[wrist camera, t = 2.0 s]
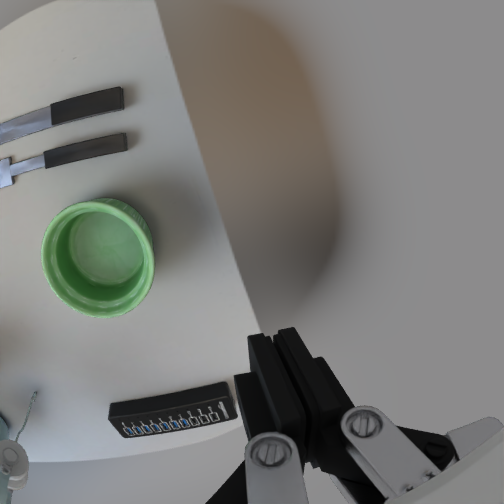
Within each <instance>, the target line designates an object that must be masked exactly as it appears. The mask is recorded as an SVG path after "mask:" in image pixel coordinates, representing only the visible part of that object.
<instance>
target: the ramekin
mask: <svg viewBox="0 0 504 504" xmlns="http://www.w3.org/2000/svg"><path fill="white" fill-rule="evenodd" d="M41 261H42V267H43V271H44V274H45V277H46V279H47V281H48V283H49V285H50V287H51V288H52V290H53V291H54V293H55V294H56V295H57V296H58V297H59V298H60V299H61V300H62V301H63V302H64V303H65V304H66V305H68V306H69V307H70V308H72V309H74V310H75V311H77V312H79V313H82V314H84V315H87V316H91V317H97V318H112V317H117V316H120V315H123V314H125V313H127V312H129V311H131V310H132V309H134V308H135V307H136V306H138V305H139V304H140V303H141V302H142V300H143V299H144V298H145V297H146V295H147V294H148V292H149V290H150V288H151V285H152V282H153V279H154V273H155V258H154V252H153V241H152V236H151V233H150V230H149V228H148V225H147V224H146V222H145V220H144V219H143V218H142V216H141V215H140V214H139V213H138V212H137V211H136V210H135V209H134V208H132V207H131V206H129V205H128V204H126V203H124V202H122V201H119V200H116V199H111V198H99V199H94V200H91V201H85V202H80V203H76V204H73V205H71V206H69V207H67V208H65V209H64V210H62V211H61V212H60V213H59V214H57V215H56V217H55V218H54V219H53V220H52V221H51V223H50V224H49V226H48V228H47V230H46V232H45V234H44V237H43V241H42V247H41Z"/></svg>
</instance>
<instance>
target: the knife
mask: <svg viewBox="0 0 504 504" xmlns="http://www.w3.org/2000/svg"><path fill="white" fill-rule="evenodd" d="M120 110H124V104H123V89H122V88H121V87H115V88H110V89H106V90H101V91H97V92H93V93H89V94H85V95H81V96H77V97H73V98H70V99H66V100H63V101H60V102H56V103H53V104H51V105H50V106H49V107H46V108H42V109H39V110H36V111H34V112H31V113H28V114H25V115H22V116H20V117H17V118H14V119H12V120H9V121H7V122H4V123H2V124H0V145H1V144H3V143H6V142H9V141H11V140H14V139H17V138H20V137H23V136H26V135H29V134H32V133H35V132H38V131H41V130H44V129H47V128H51V127H54V126H57V125H61V124H64V123H68V122H72V121H76V120H80V119H84V118H88V117H92V116H96V115H101V114H105V113H110V112H115V111H120Z"/></svg>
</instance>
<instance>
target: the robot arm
mask: <svg viewBox="0 0 504 504" xmlns="http://www.w3.org/2000/svg"><path fill="white" fill-rule="evenodd" d="M247 339H248V350H249V360H250V370H251V372H249V373H244V374H238V375H234V382H235V389H236V394H237V399H238V404H239V408H240V412H241V416H242V420H243V423H244V427H245V431H246V434H247V438H248V444H247V445H246V447H245V453H244V455H245V460H244V461H243V462H242V463H241V464H240V466H239V467H238V468H237V469H236V470H235V472H234V473H233V474H232V475H231V476H230V477H229V478H228V479H227V481H226V482H225V483H224V484H223V485H222V486H221V487H220V488H219V489H218V491H217V492H216V493H215V494H214V495H213V496H212V497H211V498H210V499H209V500H208V501H207V502H206V503H205V504H309V502H308V497H307V492H306V488H305V483H304V478H303V473H304V466H305V463H307V462H310V463H311V465H312V467H313V468H317V467H320V469H321V471H323V472H326V473H329V476H330V478H331V480H332V481H333V483H334V484H335V485H336V487H337V488H338V489H339V491H340V492H341V494H342V495H343V496H344V498H345V499H346V500H347V502H348V503H349V504H504V426H503V424H502V423H501V422H500V421H499V420H498V419H496V418H493V417H487V418H483V419H481V420H478V421H476V422H473V423H471V424H468V425H465V426H463V427H460V428H457V429H454V430H451V431H449V432H447V433H446V435H439V434H435V433H429V432H424V431H418V430H414V429H409V428H404V427H400V426H395V425H394V424H393V423H392V421H390V419H389V418H387V416H386V415H385V414H384V413H382V412H381V411H380V410H379V409H377V408H374V407H372V406H357V407H355V406H354V405H353V403H352V401H351V400H350V398H349V397H348V395H347V394H346V392H345V391H344V389H343V387H342V386H341V384H340V383H339V381H338V380H337V378H336V377H335V375H334V373H333V372H332V370H331V369H330V367H329V366H328V364H327V363H326V361H325V360H324V358H323V357H317V358H313V357H312V356H311V354H310V353H309V351H308V349H307V348H306V346H305V344H304V343H303V341H302V339H301V338H300V336H299V334H298V332H297V331H296V329H295V328H294V327H291V328H286V329H281V330H278V334H276V335H274V336H273V342H272V340H271V337H270V336H266V337H265V336H264V334H263V333H260V334H255V335H249V336H248V337H247Z"/></svg>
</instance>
